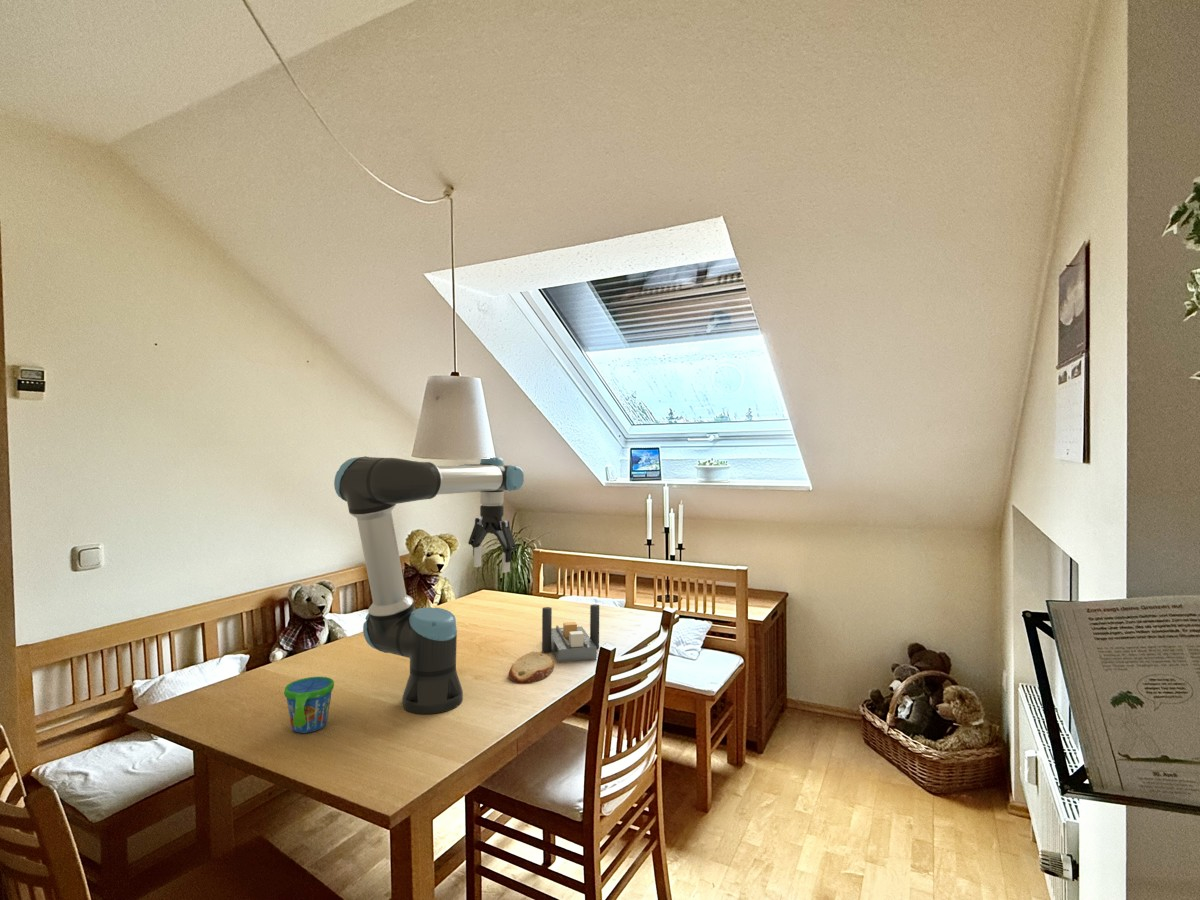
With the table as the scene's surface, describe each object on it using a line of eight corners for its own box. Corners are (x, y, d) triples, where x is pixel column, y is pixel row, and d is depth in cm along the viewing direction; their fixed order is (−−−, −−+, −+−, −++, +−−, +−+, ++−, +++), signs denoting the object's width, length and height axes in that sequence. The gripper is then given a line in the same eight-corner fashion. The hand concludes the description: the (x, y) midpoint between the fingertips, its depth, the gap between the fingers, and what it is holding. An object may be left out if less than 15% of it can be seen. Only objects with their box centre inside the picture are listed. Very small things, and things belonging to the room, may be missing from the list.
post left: (552, 652, 197) (552, 609, 197) (542, 653, 197) (543, 609, 196) (550, 649, 200) (550, 606, 200) (541, 650, 200) (541, 607, 199)
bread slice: (541, 656, 195) (541, 644, 195) (572, 673, 180) (572, 661, 180) (489, 668, 184) (489, 656, 184) (518, 687, 170) (518, 674, 170)
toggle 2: (583, 646, 191) (583, 633, 191) (570, 647, 190) (571, 634, 190) (581, 643, 194) (581, 630, 194) (569, 644, 193) (569, 631, 193)
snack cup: (300, 713, 152) (301, 672, 152) (344, 712, 152) (344, 671, 152) (270, 743, 136) (270, 698, 136) (318, 742, 137) (319, 697, 137)
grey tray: (596, 659, 191) (596, 643, 191) (558, 662, 188) (558, 646, 188) (581, 637, 213) (581, 623, 212) (547, 640, 210) (547, 625, 210)
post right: (600, 648, 201) (600, 606, 201) (591, 649, 201) (591, 607, 200) (597, 645, 204) (598, 604, 204) (589, 646, 203) (589, 604, 203)
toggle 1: (576, 636, 201) (576, 624, 201) (564, 637, 200) (565, 625, 200) (575, 633, 204) (575, 621, 204) (563, 634, 203) (563, 622, 203)
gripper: (527, 506, 195) (527, 572, 195) (475, 501, 210) (474, 562, 210) (510, 508, 189) (510, 576, 189) (458, 502, 204) (457, 566, 204)
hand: (491, 569), depth 200 cm, fingers open, 13 cm apart
